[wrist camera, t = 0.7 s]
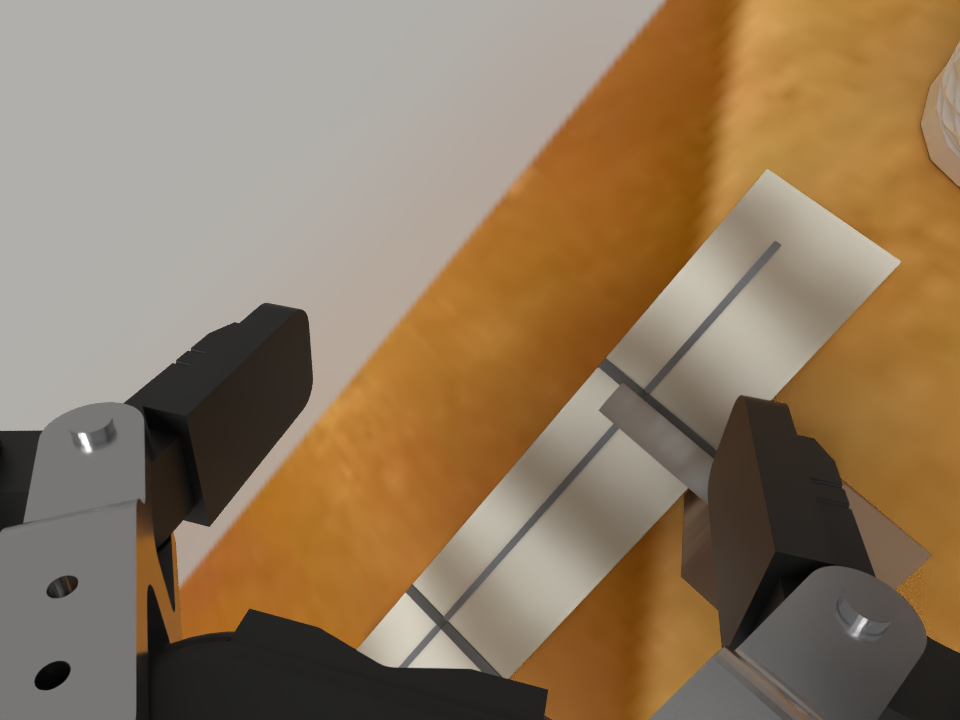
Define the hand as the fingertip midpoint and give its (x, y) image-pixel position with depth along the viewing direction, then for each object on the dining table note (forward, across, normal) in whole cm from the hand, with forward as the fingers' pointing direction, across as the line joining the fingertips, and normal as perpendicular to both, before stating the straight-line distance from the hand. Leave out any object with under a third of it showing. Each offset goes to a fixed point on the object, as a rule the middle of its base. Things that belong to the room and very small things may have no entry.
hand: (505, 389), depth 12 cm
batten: (+14, -3, +14) cm, 20 cm away
